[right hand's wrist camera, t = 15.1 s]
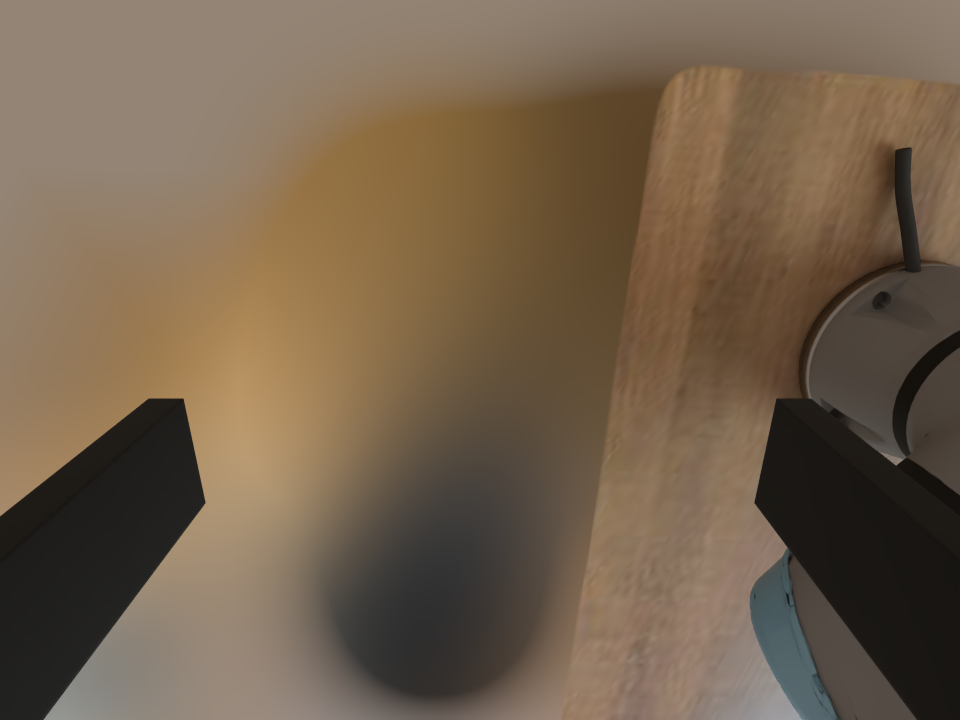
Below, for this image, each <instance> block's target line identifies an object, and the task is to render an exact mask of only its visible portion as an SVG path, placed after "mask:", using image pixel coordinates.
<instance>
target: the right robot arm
mask: <svg viewBox="0 0 960 720" xmlns="http://www.w3.org/2000/svg"><path fill="white" fill-rule="evenodd" d="M911 152H912V148H902V149H898V150H896V151H895V197H896V205H897V212H898V218H899V224H900V230H901V238H902V246H903V254H904V263H899V264H895V265H891V266H888V267H885V268H882V269H880V270H877V271H875V272H873V273H870V274H868V275H866V276H864V277H863V278H861V279H859V280H858V281H856V282H854V283H853V284H852V285H850V286H849V287H847V288H846V289H845V290H844V291H842V292H841V293H840V294H839V295H838V296H837V297H835V298H834V299H833V300H832V301H831V302H830V303H829V305H828V306H827V307H826V308H825V309H824V310H823V312H822V313H821V314H820V316H819V317H818V318H817V320H816V321H815V323H814V324H813V326H812V328H811V330H810V332H809V334H808V336H807V338H806V340H805V343H804V346H803V349H802V353H801V357H800V363H799V382H800V388H801V392H802V395H803V398H804V399H776V404H775V408H774V413H773V418H772V422H771V427H770V432H769V437H768V441H767V446H766V451H765V456H764V460H763V465H762V470H761V474H760V479H759V484H758V489H757V493H756V498H755V504H756V506H757V507H758V508H759V510H760V511H761V512H762V514H763V515H764V516H765V518H766V519H767V520H768V522H769V523H770V524H771V526H772V527H773V528H774V530H775V531H776V532H777V534H778V535H779V536H780V538H781V539H782V540H783V542H784V543H785V544H786V546H787V547H788V548H787V550H786V551H785V553H784V555H783V557H782V558H781V559H780V560H779V561H778V562H777V563H776V564H774V565H773V566H772V567H771V568H770V569H769V570H768V571H767V572H765V573H764V574H763V575H762V576H761V577H760V578H759V579H758V580H757V581H756V583H755V584H754V586H753V588H752V591H751V594H750V610H751V621H752V624H753V628H754V631H755V634H756V637H757V640H758V642H759V645H760V647H761V649H762V652H763V654H764V656H765V658H766V660H767V662H768V664H769V666H770V668H771V670H772V672H773V674H774V676H775V677H776V679H777V681H778V683H779V684H780V686H781V688H782V689H783V691H784V693H785V694H786V696H787V698H788V699H789V701H790V702H791V704H792V705H793V707H794V708H795V710H796V711H797V713H798V714H799V716H800V717H801V718H802V720H960V267H956V266H953V265H949V264H945V263H940V262H935V261H920V255H919V246H918V237H917V229H916V222H915V216H914V210H913V204H912V196H911V182H910V173H911ZM878 451H879V452H882V453H885V454H889V455H892V456H895V457H898V458H902V459H904V460H903V461H902V462H900V463H899V464H898V465H897V466H896V465H894V464H893V463H892V462H891V461H889V460H888V459H887V458H886V457H884V456H883V455H882V454H880V453H879V452H878ZM204 504H205V498H204V493H203V489H202V484H201V479H200V474H199V470H198V465H197V460H196V456H195V451H194V446H193V441H192V437H191V432H190V427H189V422H188V418H187V413H186V409H185V404H184V399H148V400H146V401H145V402H144V403H143V404H141V405H140V406H139V407H138V408H136V409H135V410H134V411H133V412H131V413H130V414H129V415H127V416H126V417H125V418H124V419H122V420H121V421H120V422H119V423H117V424H116V425H115V426H114V427H112V428H111V429H110V430H109V431H107V432H106V433H105V434H104V435H102V436H101V437H100V438H98V439H97V440H96V441H95V442H93V443H92V444H91V445H90V446H88V447H87V448H86V449H85V450H83V451H82V452H81V453H80V454H78V455H77V456H76V457H74V458H73V459H72V460H71V461H70V462H68V463H67V464H66V465H64V466H63V467H62V468H61V469H59V470H58V471H57V472H56V473H54V474H53V475H52V476H51V477H49V478H48V479H47V480H45V481H44V482H43V483H42V484H40V485H39V486H38V487H37V488H35V489H34V490H33V491H32V492H30V493H29V494H28V495H27V496H25V497H24V498H23V499H22V500H20V501H19V502H18V503H17V504H15V505H14V506H13V507H11V508H10V509H9V510H8V511H6V512H5V513H4V514H3V515H1V516H0V720H44V718H45V717H46V715H47V714H48V713H49V712H50V710H51V709H52V707H53V706H54V705H55V703H56V702H57V701H58V699H59V698H60V697H61V695H62V694H63V693H64V691H65V690H66V689H67V687H68V686H69V685H70V683H71V682H72V681H73V679H74V678H75V677H76V675H77V674H78V673H79V671H80V670H81V669H82V667H83V666H84V665H85V663H86V662H87V661H88V659H89V658H90V657H91V655H92V654H93V653H94V651H95V650H96V649H97V647H98V646H99V645H100V643H101V642H102V641H103V639H104V638H105V637H106V635H107V634H108V633H109V631H110V630H111V629H112V627H113V626H114V625H115V623H116V622H117V621H118V619H119V618H120V617H121V615H122V614H123V613H124V611H125V610H126V609H127V607H128V606H129V605H130V603H131V602H132V600H133V599H134V598H135V597H136V595H137V594H138V592H139V591H140V590H141V588H142V587H143V586H144V585H145V583H146V582H147V581H148V579H149V578H150V577H151V575H152V574H153V572H154V571H155V570H156V569H157V567H158V566H159V564H160V563H161V562H162V560H163V559H164V558H165V556H166V555H167V554H168V552H169V551H170V550H171V548H172V547H173V546H174V544H175V543H176V542H177V540H178V539H179V538H180V536H181V535H182V534H183V532H184V531H185V530H186V528H187V527H188V526H189V524H190V523H191V522H192V520H193V519H194V518H195V516H196V515H197V514H198V512H199V511H200V510H201V508H202V507H203V506H204Z"/></svg>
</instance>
